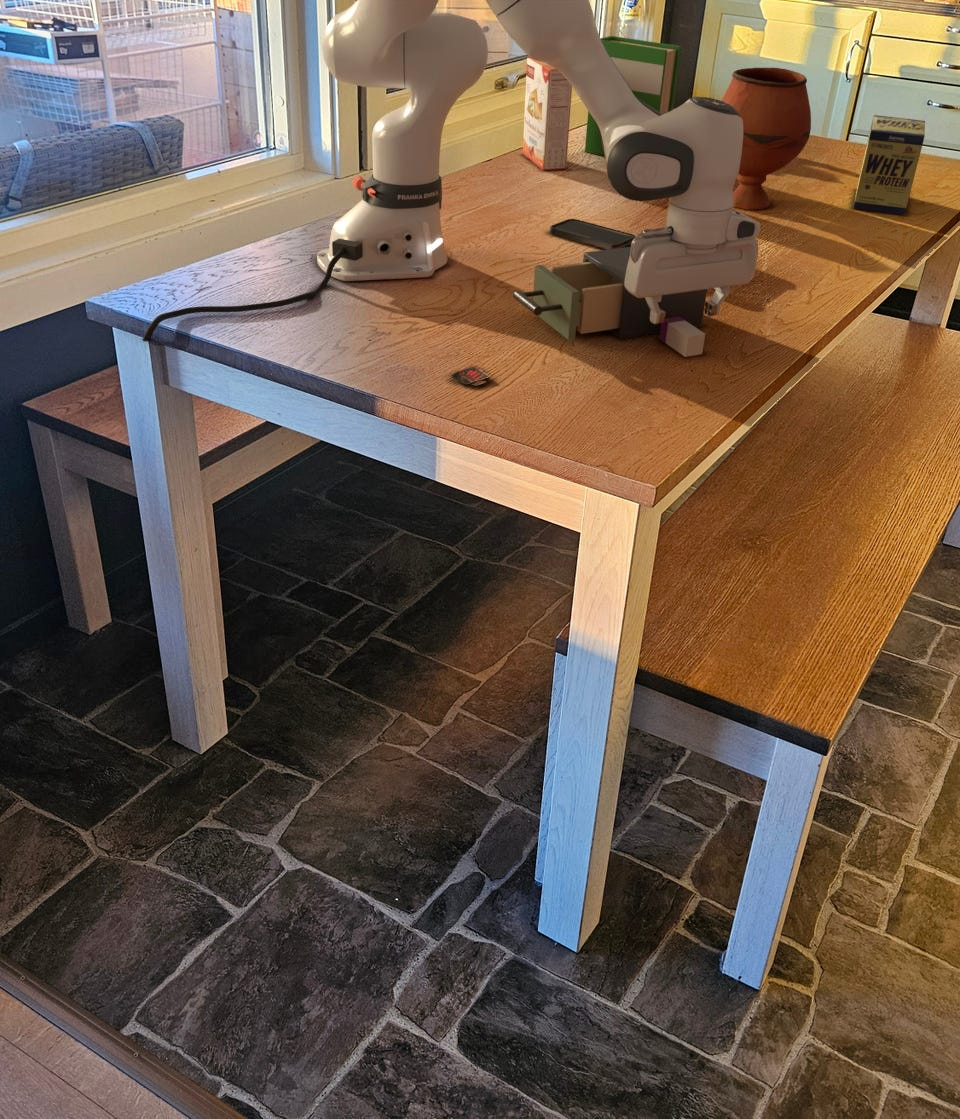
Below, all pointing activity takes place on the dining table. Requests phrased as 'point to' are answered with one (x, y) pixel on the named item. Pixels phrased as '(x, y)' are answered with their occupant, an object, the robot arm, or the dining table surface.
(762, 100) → the goblet
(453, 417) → the dining table surface
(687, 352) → the beige rectangular block
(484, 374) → the matchbox
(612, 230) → the phone
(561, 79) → the cracker box
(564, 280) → the drawer
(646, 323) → the black storage box
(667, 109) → the hardback book
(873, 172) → the protein box
